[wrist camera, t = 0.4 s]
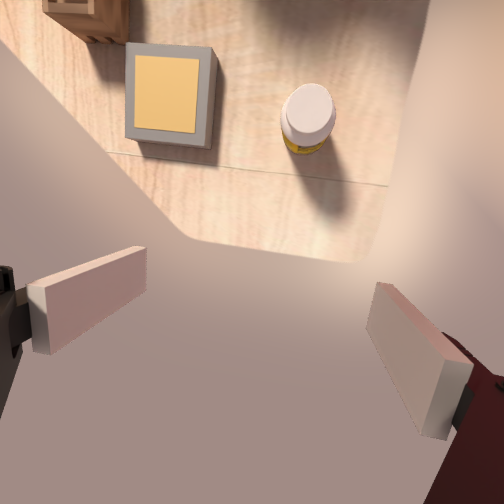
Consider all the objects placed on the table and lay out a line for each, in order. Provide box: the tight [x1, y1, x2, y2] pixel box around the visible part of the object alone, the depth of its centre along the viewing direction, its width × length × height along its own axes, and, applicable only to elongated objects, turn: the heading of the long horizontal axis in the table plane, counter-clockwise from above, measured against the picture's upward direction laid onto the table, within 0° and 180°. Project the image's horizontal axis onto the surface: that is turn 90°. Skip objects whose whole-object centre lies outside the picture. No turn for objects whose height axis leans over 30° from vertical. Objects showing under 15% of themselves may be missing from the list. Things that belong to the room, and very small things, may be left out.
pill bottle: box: [280, 83, 336, 155], centre depth 32 cm, size 6×6×11 cm
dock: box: [125, 42, 218, 149], centre depth 38 cm, size 12×12×3 cm
